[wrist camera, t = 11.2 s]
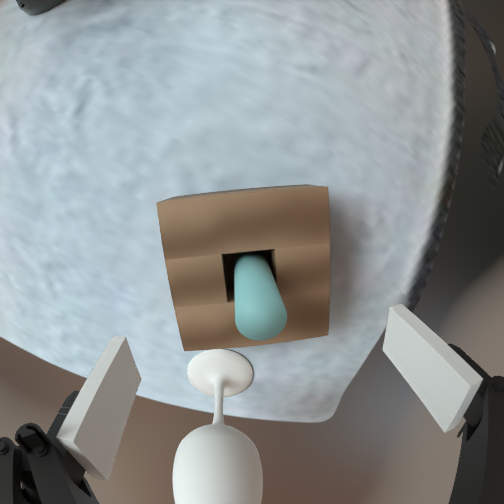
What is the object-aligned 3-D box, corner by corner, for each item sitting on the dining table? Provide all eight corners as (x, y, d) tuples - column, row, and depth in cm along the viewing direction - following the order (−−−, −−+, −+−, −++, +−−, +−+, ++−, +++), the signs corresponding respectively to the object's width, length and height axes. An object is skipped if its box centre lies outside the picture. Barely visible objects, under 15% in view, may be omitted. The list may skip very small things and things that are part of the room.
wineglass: (208, 336, 32) (192, 493, 12) (265, 366, 34) (293, 510, 14) (176, 378, 34) (150, 514, 14) (230, 403, 36) (234, 532, 16)
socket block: (174, 196, 28) (156, 202, 21) (306, 184, 29) (328, 186, 22) (192, 317, 32) (184, 351, 25) (310, 304, 32) (328, 335, 26)
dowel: (232, 246, 28) (232, 299, 16) (264, 242, 28) (286, 292, 16) (235, 276, 29) (238, 343, 17) (266, 272, 29) (288, 337, 17)
